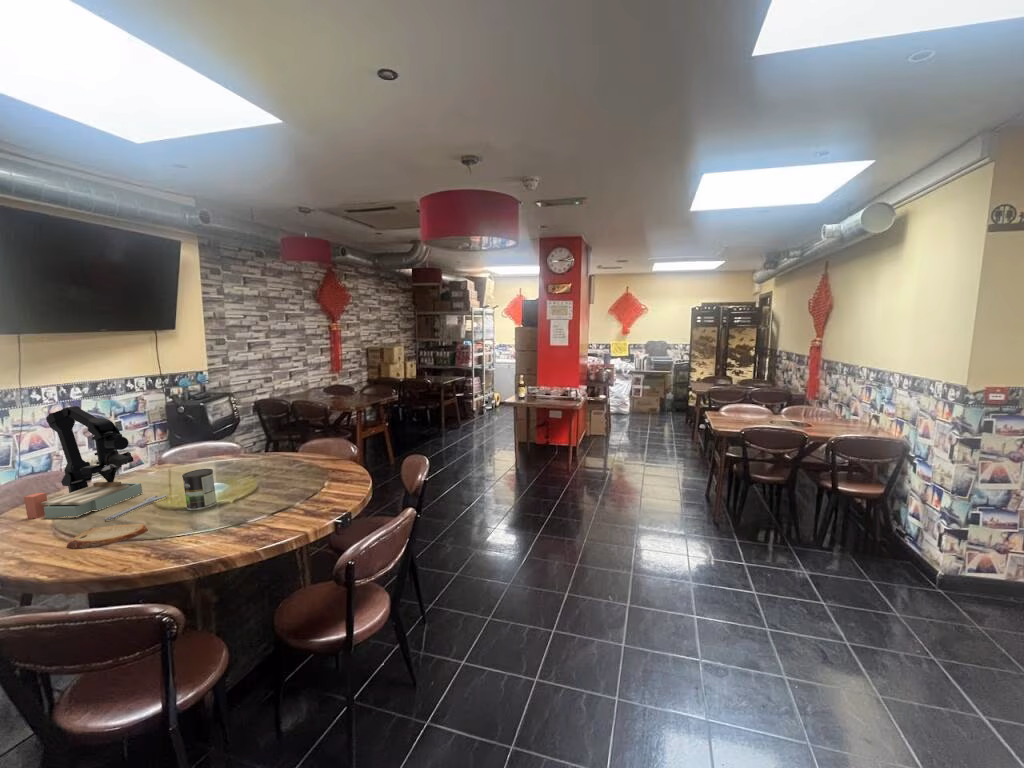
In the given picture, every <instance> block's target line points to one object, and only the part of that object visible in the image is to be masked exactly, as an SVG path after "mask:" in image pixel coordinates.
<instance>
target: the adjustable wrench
mask: <svg viewBox="0 0 1024 768" xmlns="http://www.w3.org/2000/svg"><path fill="white" fill-rule="evenodd" d="M166 496H167V497H168V495H167V494H165V493H164V494H163V495H162V496H158V495H153V496H150V497H148V498H145V499H144V501H142V502H141V503H138V504H136V505H133V506H130V507H128V508H126V509H123V510H121V511H119V512H117V513H114V514H112V515H110V516H107V517H105V518H104V521H105V520H111V519H114V518H116V517H118V516H121V515H123V514H125V513H128V512H130V511H132V510H135V509H137V508H139V507H142V506H144V505H146V504H149V503H152V502H154V501H157V500H159V499H162V498H164V497H166ZM152 504H153V503H152ZM149 505H150V504H149ZM146 506H147V505H146ZM144 507H145V506H144ZM142 508H143V507H142ZM139 509H140V508H139ZM137 510H138V509H137ZM135 511H136V510H135ZM130 513H131V512H130ZM128 514H129V513H128ZM123 516H124V515H123ZM121 517H122V516H121ZM109 518H110V519H109ZM114 520H115V519H114Z"/></svg>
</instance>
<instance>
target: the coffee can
mask: <svg viewBox="0 0 1024 768" xmlns="http://www.w3.org/2000/svg"><path fill="white" fill-rule="evenodd" d="M213 472H214V470H213V469H212V468H201V469H200V468H199V469H195V470H194V469H193V470H191V471H187V472H185V473H183V474H182V475H181V476H182V477H181V478H182V481H183V488H184V496H185V501H186V502H185V503H186V509H187V511H200V510H204V509H207V508H210V507H213V506H215V505H216V504H217V503H218V501H217V495H216V487H215V479H214V473H213Z"/></svg>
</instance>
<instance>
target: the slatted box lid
mask: <svg viewBox="0 0 1024 768" xmlns="http://www.w3.org/2000/svg"><path fill="white" fill-rule="evenodd" d="M121 483H122V482H121V481H114V482H107V481H99V482H98V481H96V482H93V483H92V485H90V486H89V485H88V487H86V488H83V489H80V490H77V491H74V492H71V493H69V492H68V493H66V494H62V495H60V496H57V497H53V498H51V499H47V501H44V502H42V503H41V505H48V506H49V505H82V504H85V503H87V502H90V501H93V500H95V499H98V498H101V497H104V496H106V495H109V494H112V493H114V492H117V491H120V490H123V489H125V488H128V487H130V486H129V485H122V484H121Z"/></svg>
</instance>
